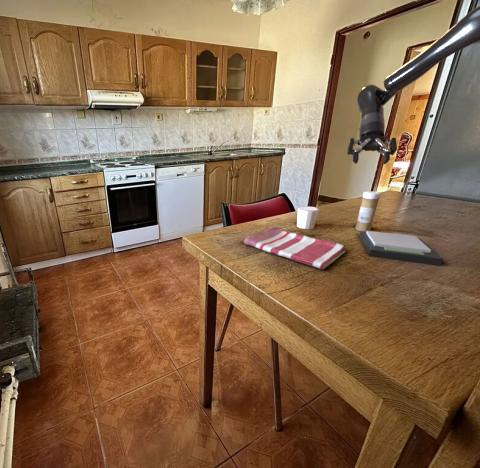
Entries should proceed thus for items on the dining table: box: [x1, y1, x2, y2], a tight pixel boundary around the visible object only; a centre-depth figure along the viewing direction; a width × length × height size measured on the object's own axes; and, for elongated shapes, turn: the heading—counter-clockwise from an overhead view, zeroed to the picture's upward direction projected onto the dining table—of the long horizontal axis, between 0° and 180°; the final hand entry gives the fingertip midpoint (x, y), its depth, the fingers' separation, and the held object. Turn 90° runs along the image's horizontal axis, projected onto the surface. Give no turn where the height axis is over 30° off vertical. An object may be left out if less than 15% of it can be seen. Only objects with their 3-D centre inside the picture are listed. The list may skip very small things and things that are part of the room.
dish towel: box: [243, 225, 346, 270], centre depth 77 cm, size 17×23×3 cm
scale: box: [358, 230, 444, 267], centre depth 74 cm, size 15×15×3 cm
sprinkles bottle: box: [354, 190, 382, 232], centre depth 88 cm, size 5×5×13 cm
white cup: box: [296, 205, 320, 230], centre depth 94 cm, size 7×7×7 cm
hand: (370, 162), depth 92 cm, fingers open, 8 cm apart
